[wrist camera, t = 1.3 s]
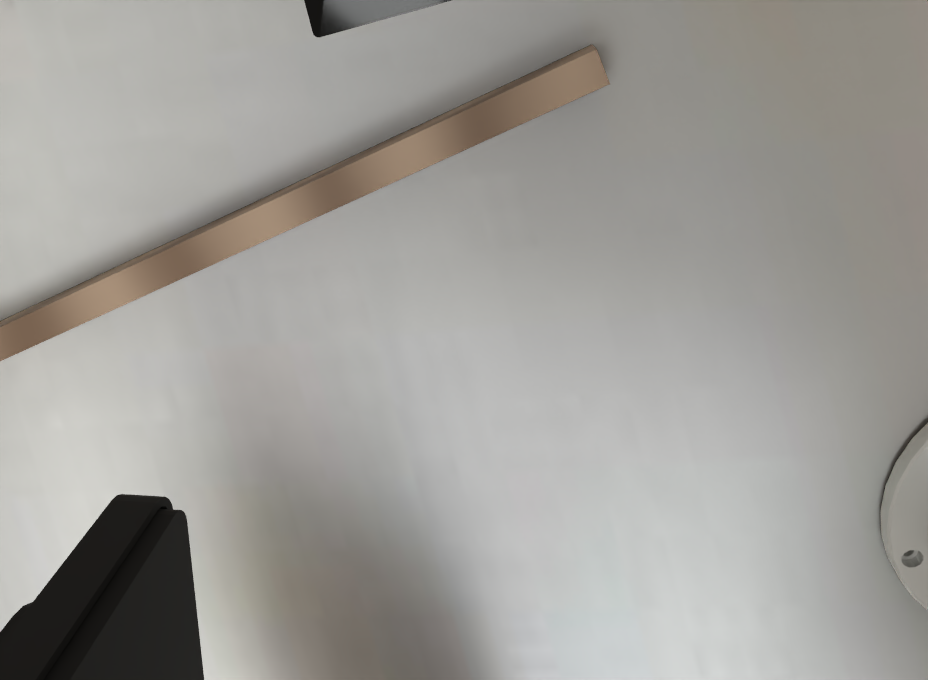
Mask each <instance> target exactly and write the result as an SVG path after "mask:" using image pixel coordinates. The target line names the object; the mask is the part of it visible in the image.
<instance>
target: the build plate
mask: <svg viewBox="0 0 928 680" xmlns="http://www.w3.org/2000/svg"><path fill="white" fill-rule="evenodd" d="M304 1H305V5H306V8H307V12H308V16H309V20H310V23H311V27H312V31H313V34H314V35H315V36H316V37H322V36H326V35H329V34H333V33H336V32H340V31H344V30H347V29H351V28H354V27H358V26H361V25H365V24H369V23H372V22H376V21H379V20H383V19H386V18H390V17H394V16H397V15H401V14H404V13H408V12H412V11H415V10H419V9H422V8H426V7H429V6H433V5H437V4H440V3H444V2H447V1H451V0H304Z"/></svg>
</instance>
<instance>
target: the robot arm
mask: <svg viewBox="0 0 928 680" xmlns="http://www.w3.org/2000/svg"><path fill="white" fill-rule="evenodd" d="M880 514H881V536H882V540H883V543H884V547H885V550H886V554H887V557H888V559H889V561H890V563H891V564H892V566H893V568H894V570H895V572H896V574H897V575H898V577H899V579H900V580H901V582H902V583H903V585H904V586H905V587H906V589H907V590H908V591H909V593H910V594H911V595H912V597H913V598H914V599H915V600H916V601H917V602H919V603H920V604H921V605H922V606H923V607H924V608H925V609H927V610H928V423H927V424H926V425H925V426H924V427H923V428H922V429H921V430H920V431H919V432H918V433H917V434H916V435H915V436H914V437H913V438H912V439H911V441H910V442H909V444H908V445H907V447H906V448H905V450H904V451H903V453H902V454H901V455H900V457H899V458H898V460H897V461H896V463H895V465H894V468H893V470H892V472H891V475H890V477H889V479H888V482H887V484H886V486H885V491H884V496H883V501H882V506H881V511H880ZM0 680H204V675H203V665H202V656H201V647H200V637H199V628H198V619H197V609H196V600H195V591H194V582H193V572H192V563H191V554H190V544H189V535H188V526H187V519H186V515H185V513H184V512H183V511H182V510H173V507H172V504H171V502H170V500H169V499H168V498H166V497H159V496H142V495H125V494H121V495H117V496H116V497H115V498H114V499H113V500H112V501H111V502H110V503H109V505H108V506H107V507H106V508H105V510H104V511H103V512H102V514H101V515H100V516H99V518H98V519H97V520H96V521H95V523H94V524H93V525H92V527H91V528H90V529H89V530H88V532H87V533H86V534H85V536H84V537H83V538H82V540H81V541H80V542H79V543H78V545H77V546H76V547H75V549H74V550H73V551H72V552H71V554H70V555H69V556H68V558H67V559H66V560H65V561H64V563H63V564H62V565H61V567H60V568H59V569H58V571H57V572H56V573H55V574H54V576H53V577H52V578H51V580H50V581H49V582H48V583H47V585H46V586H45V587H44V589H43V590H42V591H41V592H40V594H39V595H38V596H37V598H36V599H35V600H34V602H32V603H29V604H27V605H25V606H23V607H22V608H21V609H20V610H19V611H18V612H17V613H16V614H15V615H14V616H13V617H12V618H11V619H10V621H9V622H8V623H7V624H6V626H5V627H4V628H3V630H2V631H1V632H0Z"/></svg>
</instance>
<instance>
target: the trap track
mask: <svg viewBox="0 0 928 680" xmlns="http://www.w3.org/2000/svg"><path fill="white" fill-rule="evenodd" d="M609 84H610V83H609V80H608V78H607V75H606V72H605V70H604V67H603V65H602V62H601V60H600V57H599V54H598V52H597V49H596V48H595V47H594V46H593V45H590V46H587V47H585V48H583V49H581V50H579V51H577V52H575V53H572V54H570V55H568V56H566V57H564V58H562V59H560V60H557V61H555V62H553V63H551V64H549V65H547V66H545V67H543V68H540V69H538V70H536V71H534V72H532V73H530V74H528V75H525V76H523V77H521V78H519V79H517V80H515V81H513V82H510V83H508V84H506V85H504V86H502V87H500V88H498V89H495V90H493V91H491V92H489V93H487V94H485V95H483V96H481V97H478V98H476V99H474V100H472V101H470V102H468V103H466V104H463V105H461V106H459V107H457V108H455V109H453V110H451V111H448V112H446V113H444V114H442V115H440V116H438V117H436V118H434V119H431V120H429V121H427V122H425V123H423V124H421V125H419V126H416V127H414V128H412V129H410V130H408V131H406V132H404V133H401V134H399V135H397V136H395V137H393V138H391V139H389V140H387V141H384V142H382V143H380V144H378V145H376V146H374V147H372V148H369V149H367V150H365V151H363V152H361V153H359V154H357V155H354V156H352V157H350V158H348V159H346V160H344V161H342V162H340V163H337V164H335V165H333V166H331V167H329V168H327V169H325V170H322V171H320V172H318V173H316V174H314V175H312V176H310V177H307V178H305V179H303V180H301V181H299V182H297V183H295V184H293V185H290V186H288V187H286V188H284V189H282V190H280V191H278V192H275V193H273V194H271V195H269V196H267V197H265V198H263V199H260V200H258V201H256V202H254V203H252V204H250V205H248V206H245V207H243V208H241V209H239V210H237V211H235V212H233V213H231V214H228V215H226V216H224V217H222V218H220V219H218V220H216V221H213V222H211V223H209V224H207V225H205V226H203V227H201V228H198V229H196V230H194V231H192V232H190V233H188V234H186V235H184V236H181V237H179V238H177V239H175V240H173V241H171V242H169V243H166V244H164V245H162V246H160V247H158V248H156V249H154V250H151V251H149V252H147V253H145V254H143V255H141V256H139V257H137V258H134V259H132V260H130V261H128V262H126V263H124V264H122V265H119V266H117V267H115V268H113V269H111V270H109V271H107V272H104V273H102V274H100V275H98V276H96V277H94V278H92V279H90V280H87V281H85V282H83V283H81V284H79V285H77V286H75V287H72V288H70V289H68V290H66V291H64V292H62V293H60V294H57V295H55V296H53V297H51V298H49V299H47V300H45V301H42V302H40V303H38V304H36V305H34V306H32V307H30V308H28V309H25V310H23V311H21V312H19V313H17V314H15V315H13V316H10V317H8V318H6V319H4V320H2V321H0V361H2V360H4V359H6V358H8V357H10V356H13V355H15V354H17V353H19V352H21V351H24V350H26V349H28V348H30V347H32V346H35V345H37V344H39V343H41V342H43V341H46V340H48V339H50V338H52V337H54V336H57V335H59V334H61V333H63V332H65V331H68V330H70V329H72V328H74V327H76V326H79V325H81V324H83V323H85V322H87V321H90V320H92V319H94V318H96V317H98V316H101V315H103V314H105V313H107V312H109V311H112V310H114V309H116V308H118V307H120V306H123V305H125V304H127V303H129V302H131V301H134V300H136V299H138V298H140V297H142V296H145V295H147V294H149V293H151V292H153V291H156V290H158V289H160V288H162V287H164V286H167V285H169V284H171V283H173V282H175V281H178V280H180V279H182V278H184V277H186V276H189V275H191V274H193V273H195V272H197V271H200V270H202V269H204V268H206V267H208V266H211V265H213V264H215V263H217V262H219V261H222V260H224V259H226V258H228V257H230V256H233V255H235V254H237V253H239V252H241V251H244V250H246V249H248V248H250V247H252V246H255V245H257V244H259V243H261V242H263V241H266V240H268V239H270V238H272V237H274V236H277V235H279V234H281V233H283V232H285V231H288V230H290V229H292V228H294V227H296V226H299V225H301V224H303V223H305V222H307V221H310V220H312V219H314V218H316V217H318V216H321V215H323V214H325V213H327V212H329V211H332V210H334V209H336V208H338V207H340V206H343V205H345V204H347V203H349V202H351V201H354V200H356V199H358V198H360V197H362V196H365V195H367V194H369V193H371V192H373V191H376V190H378V189H380V188H382V187H384V186H387V185H389V184H391V183H393V182H395V181H398V180H400V179H402V178H404V177H406V176H409V175H411V174H413V173H415V172H417V171H420V170H422V169H424V168H426V167H428V166H431V165H433V164H435V163H437V162H439V161H442V160H444V159H446V158H448V157H450V156H453V155H455V154H457V153H459V152H461V151H464V150H466V149H468V148H470V147H472V146H475V145H477V144H479V143H481V142H483V141H485V140H488V139H490V138H492V137H494V136H496V135H499V134H501V133H503V132H505V131H507V130H510V129H512V128H514V127H516V126H518V125H521V124H523V123H525V122H527V121H529V120H532V119H534V118H536V117H538V116H540V115H543V114H545V113H547V112H549V111H551V110H554V109H556V108H558V107H560V106H562V105H565V104H567V103H569V102H571V101H573V100H576V99H578V98H580V97H582V96H584V95H587V94H589V93H591V92H593V91H595V90H598V89H600V88H602V87H604V86H606V85H609Z"/></svg>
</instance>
